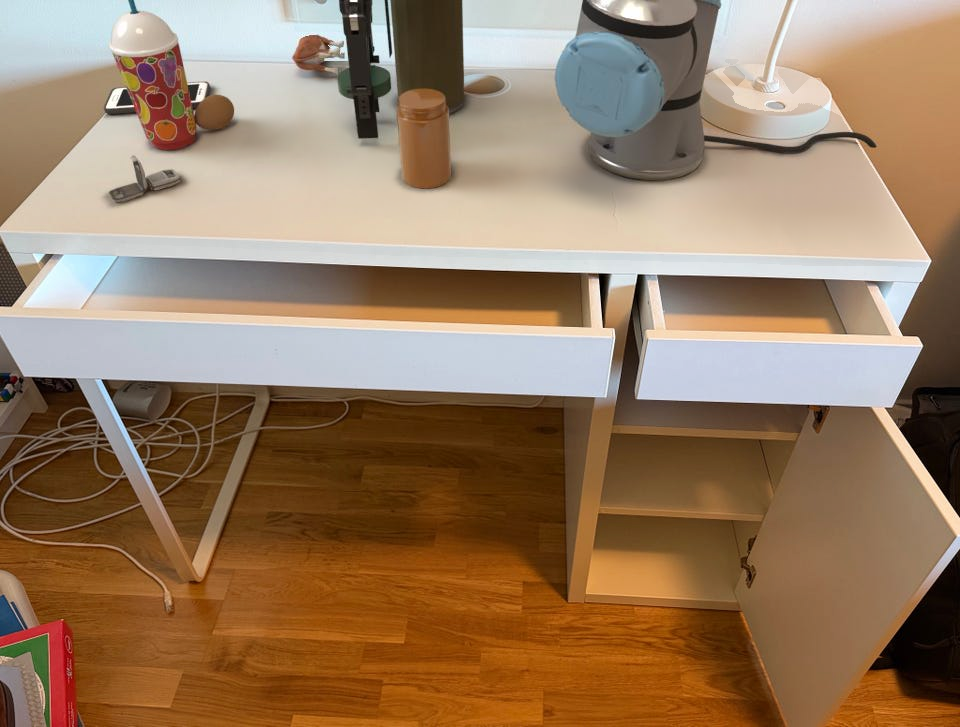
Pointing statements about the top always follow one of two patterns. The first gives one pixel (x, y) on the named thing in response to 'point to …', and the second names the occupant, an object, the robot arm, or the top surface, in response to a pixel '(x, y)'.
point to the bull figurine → (316, 53)
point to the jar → (424, 138)
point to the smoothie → (154, 77)
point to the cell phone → (123, 104)
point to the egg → (214, 112)
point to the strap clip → (145, 182)
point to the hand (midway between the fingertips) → (369, 123)
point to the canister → (428, 47)
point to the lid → (378, 78)
